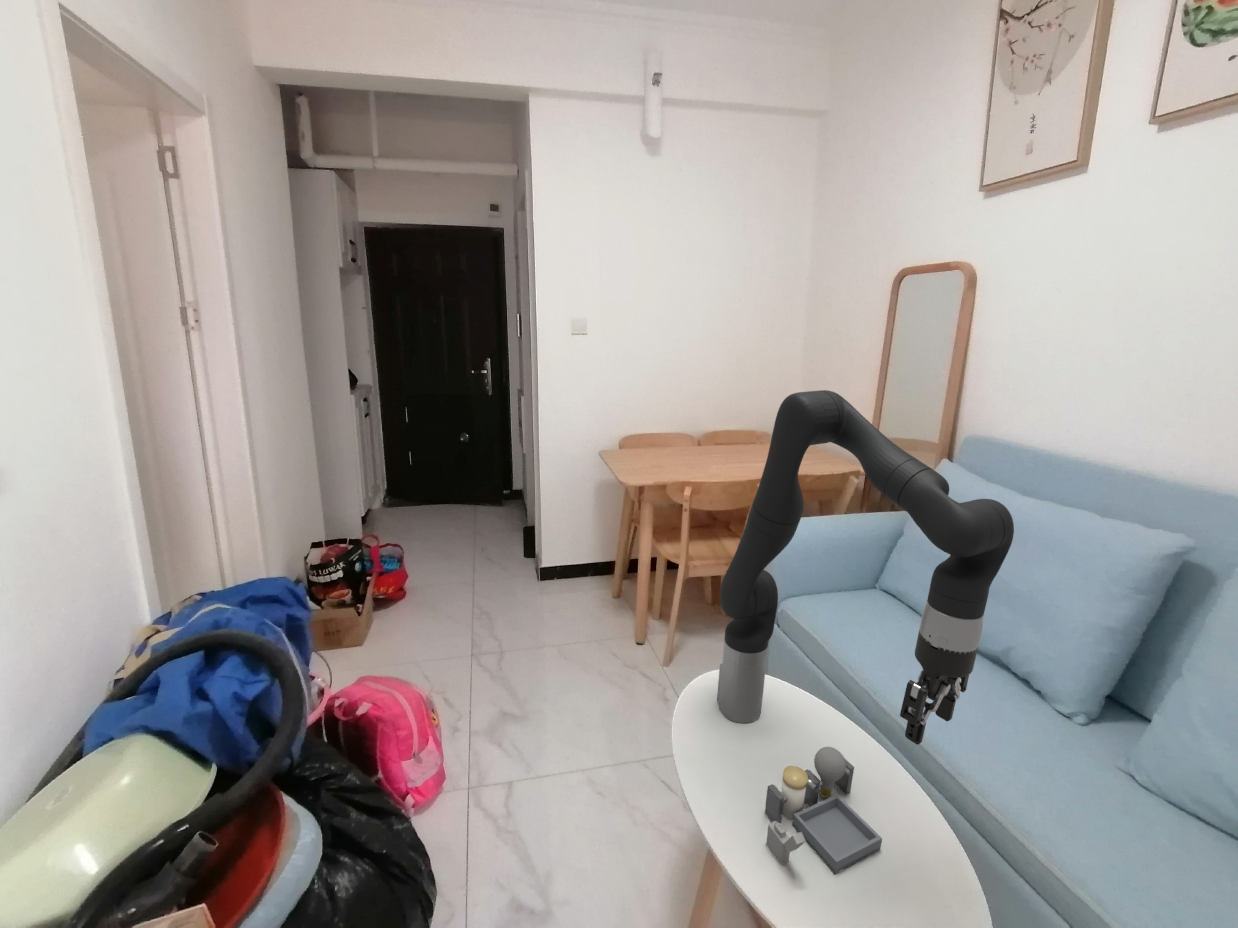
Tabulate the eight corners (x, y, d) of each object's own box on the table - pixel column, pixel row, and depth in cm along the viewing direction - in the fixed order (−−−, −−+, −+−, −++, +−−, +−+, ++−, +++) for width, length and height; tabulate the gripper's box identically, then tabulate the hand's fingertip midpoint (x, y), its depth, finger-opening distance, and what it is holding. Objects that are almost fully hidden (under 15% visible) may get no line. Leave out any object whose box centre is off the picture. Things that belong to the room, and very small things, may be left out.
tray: (792, 825, 105) (793, 813, 105) (835, 805, 110) (837, 794, 109) (834, 873, 97) (836, 861, 96) (880, 849, 101) (882, 838, 100)
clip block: (764, 812, 108) (767, 785, 106) (837, 780, 115) (841, 755, 113) (776, 826, 105) (779, 799, 103) (850, 793, 112) (854, 766, 111)
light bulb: (842, 809, 109) (849, 764, 106) (811, 804, 110) (817, 759, 107) (838, 786, 114) (845, 742, 111) (808, 781, 115) (814, 737, 112)
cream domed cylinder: (773, 805, 109) (778, 770, 107) (791, 798, 111) (796, 762, 109) (789, 823, 106) (794, 787, 103) (808, 815, 107) (813, 779, 105)
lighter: (765, 843, 102) (769, 805, 99) (773, 840, 102) (778, 802, 100) (792, 880, 95) (797, 841, 93) (801, 876, 96) (806, 837, 94)
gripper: (947, 608, 92) (928, 697, 97) (896, 637, 84) (878, 732, 89) (1000, 631, 87) (977, 724, 91) (949, 665, 79) (927, 765, 83)
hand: (928, 728), depth 90 cm, fingers open, 8 cm apart
